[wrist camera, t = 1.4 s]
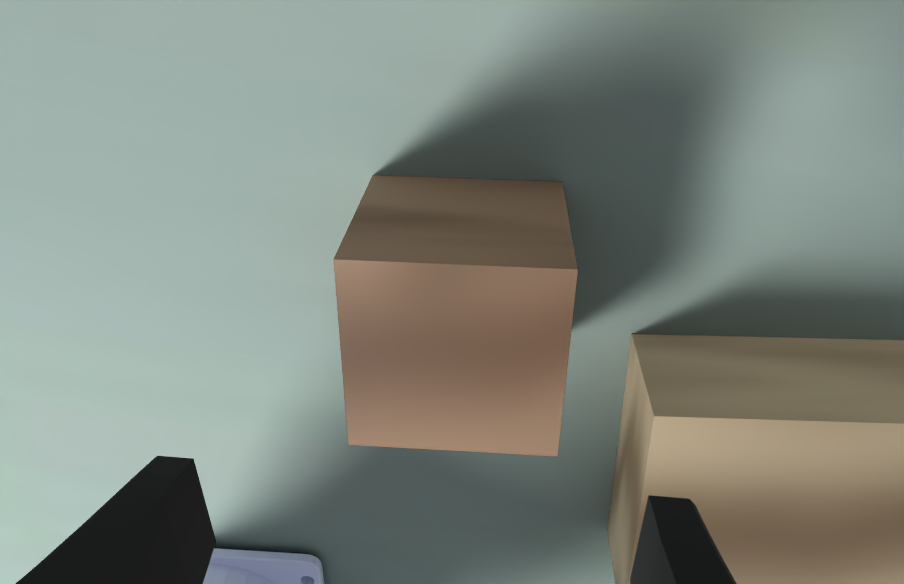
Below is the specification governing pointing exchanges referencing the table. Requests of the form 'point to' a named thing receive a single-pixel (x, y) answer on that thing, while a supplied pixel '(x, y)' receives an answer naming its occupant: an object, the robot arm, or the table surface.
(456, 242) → the walnut cube
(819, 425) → the oak block
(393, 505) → the table surface
